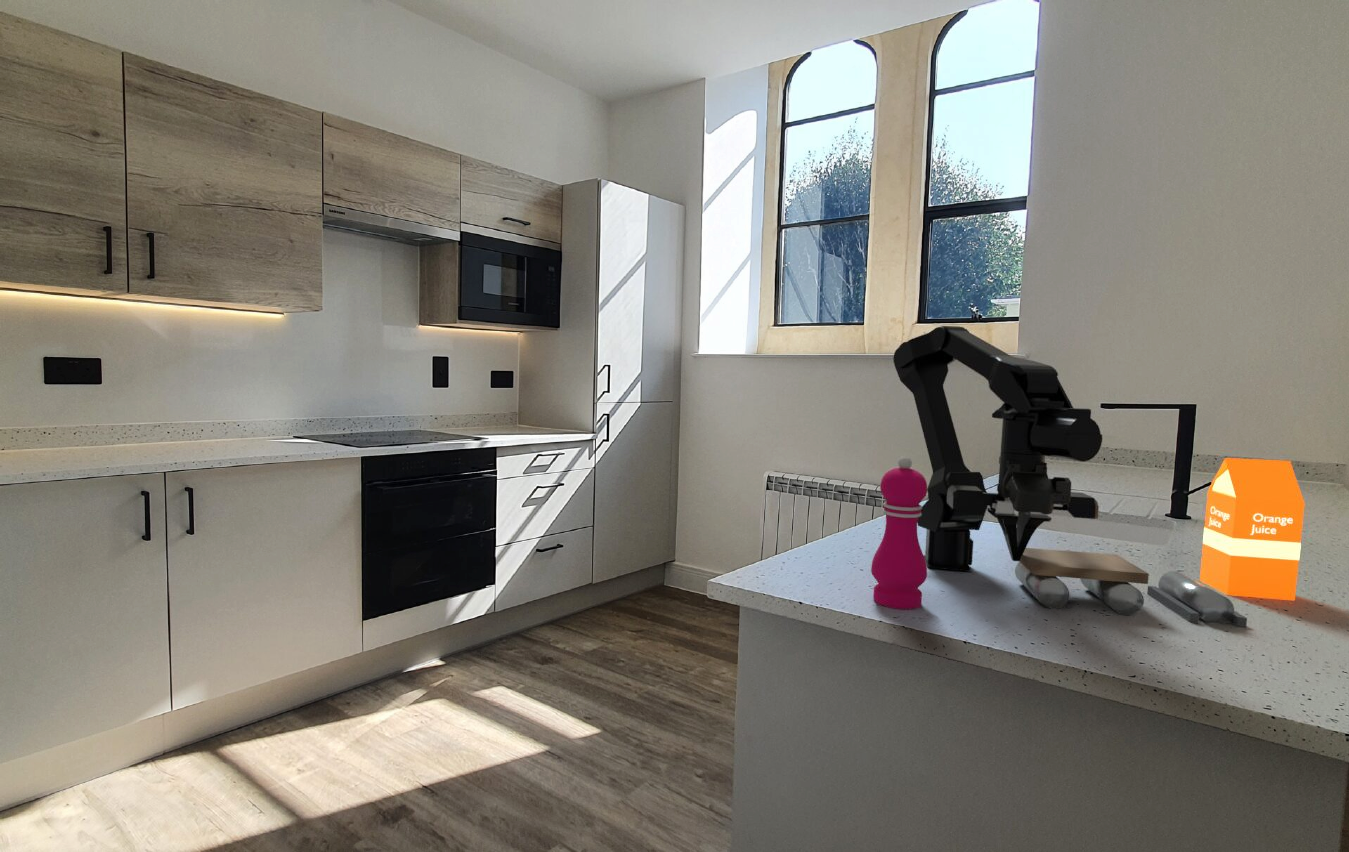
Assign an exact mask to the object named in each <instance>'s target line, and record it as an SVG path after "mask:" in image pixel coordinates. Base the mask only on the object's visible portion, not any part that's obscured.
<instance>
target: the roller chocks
mask: <svg viewBox="0 0 1349 852" xmlns="http://www.w3.org/2000/svg"><path fill="white" fill-rule="evenodd" d="M1146 592H1147V595H1149V596H1150V597H1151V598H1153V599H1154V600H1156V601H1158V602H1159V603H1160V604H1162V605H1164V606H1165V607H1166V608H1168V609H1169V610H1171V611H1173V612H1174V613H1175V614H1177V615H1179V616H1180V617H1182V618H1183V619H1184V620H1186V621H1188V622H1189V623H1195V624H1196V623H1197V624H1198V623H1199V620H1200V618H1199V613H1197V612H1196V611H1194V610H1192V609H1191V608H1189V607H1188V606H1186V605H1185V604H1183V603H1181V602H1180V601H1178V600H1177V599H1175V598H1173V597H1172V596H1170V595H1169V594H1167V593H1165V592H1164V591H1162V590H1161V589H1159V587H1158V586H1155V585H1154V586H1153V585H1147V591H1146ZM1228 622H1229V623H1231V624H1232V625H1234V626H1236V627H1241V628H1247V622H1248V617H1246V616H1245V615H1242V614H1241V613H1239V612H1237V610H1236V611H1235V610H1234V614H1233V617H1232V618H1231V619H1230V620H1229V621H1228Z"/></svg>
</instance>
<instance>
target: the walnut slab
mask: <svg viewBox="0 0 1349 852" xmlns="http://www.w3.org/2000/svg"><path fill="white" fill-rule="evenodd" d="M1019 562H1020V563H1021V564H1022V565H1024V566H1025V567H1026V568H1027V569H1028V570H1029V571H1030V572H1031V573H1032V574H1033V575H1044V576H1056V577H1057V578H1059V577H1060V578H1068V579H1069V578H1070V579H1071V578H1072V579H1080V578H1081V579H1093V580H1105V581H1117V582H1128V583H1129V584H1132V583H1134V584H1142V585H1143V584H1145V585H1148V584H1149V575H1150V574H1149V573H1148V572H1146V571H1145V570H1144V569H1141V568H1140V567H1139V566H1137V565H1135V564H1133V563H1132V562H1130V561H1129V560H1127V559H1125V558H1124V557H1122V556H1120V555H1118V554H1115V553H1114V554H1113V553H1101V552H1087V551H1085V552H1084V551H1073V550H1060V549H1047V548H1034V547H1033V548H1032V547H1026V548H1025V551H1024V553H1023V555H1022V557H1021V559H1020V561H1018V563H1019ZM1081 579H1080V580H1081Z"/></svg>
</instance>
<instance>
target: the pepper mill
mask: <svg viewBox="0 0 1349 852" xmlns="http://www.w3.org/2000/svg"><path fill="white" fill-rule="evenodd" d="M897 464H898V467H895V468H892V469H890V470H888V471H887V472H885V474H884V475H883V476H882V478H881V479H880V480H881V482H880V489H879V490H880V492H881V495H882V496H883V498H885V501H884V502H883V504H882V505H883V509H882V513H883V514H884V515H885V530H884V533H883V537H882V540H881V542H880V544H879V546H878V548H877V550H876V551H875V553H874V555H873V558H872V562H871V569H870V570H871V571H870V572H871V575H872V576H873V578H874V580H875V581H876V582H877V584H876V585H874V587H873V601H874V602H875V603H877V604H878V605H881V606H884V607H887V608H891V609H896V610H897V609H898V610H914V609H918V608H920V607H921V605H922V601H923V597H922V596H923V591H921V590H920V589H919V588H920V586H921V585H923V584H924V583H925V582H926V580H927V577H928V566H927V565H926V562H925V558H924V556H923V555H924V554H923V550H922V548H921V545H920V542H919V537H918V517H920V516H921V515H922V513H921V509H922V506H923V505H921V502H922V501H923V499H925V497H926V496H927V495H928V491H927V488H928V484H927V480H926V477H925V476H924V475H923V474H922V473H921V472H919V471H918V470H916V469H914V468H911V467H912V465H913V461H912V459H911V458H910V457H908V456H901V457H900V458H899V459H898V461H897Z"/></svg>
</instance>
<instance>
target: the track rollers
mask: <svg viewBox="0 0 1349 852" xmlns="http://www.w3.org/2000/svg"><path fill="white" fill-rule="evenodd" d="M1014 575H1015V577H1016V579H1017V580H1018V581H1019V582H1020V583H1021V585H1023V587H1025V589H1027V590H1028V592H1029V593H1030V594H1031V595H1033V597H1034V598H1036V600H1037V601H1038V602H1039V603H1040V604H1041V605H1042V606H1044V607H1046V608H1048V609H1060V608H1062V607H1063V606H1065V605H1066V604H1067V602H1068V601H1069V599H1070V590H1069V587H1068V586H1067V585H1066V584H1065V583H1064V582H1063V581H1062V580H1061V579H1060V578H1059V577H1057V576H1044V575H1033V574H1032V573H1031V572H1030V571H1029V570H1028V569H1027V568H1026V567H1025V566H1024V565H1022V564H1021V563H1020V562H1019V561H1018V563H1017V564H1016V566H1015V568H1014ZM1079 579H1080V582H1081V584H1082V586H1084V587H1085V588H1086V589H1088V591H1090V592H1091V593H1093V594H1094V595H1095V596H1096V597H1098V599H1100V600H1101V601H1102V602H1104V603H1105V604H1106V605H1107V606H1109V607H1110V608H1112V609H1113V610H1114V611H1115V612H1117V613H1118V614H1120V615H1123V616H1133V615H1135V614H1137V613H1139V612H1140V611H1141V610H1142V608H1143V607H1144V603H1145V599H1144V595H1143V593H1142V592H1141V590H1139V588H1137V587H1136V586H1134V585H1132V583H1130V582H1117V581H1105V580H1093V579H1081V578H1079Z"/></svg>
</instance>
